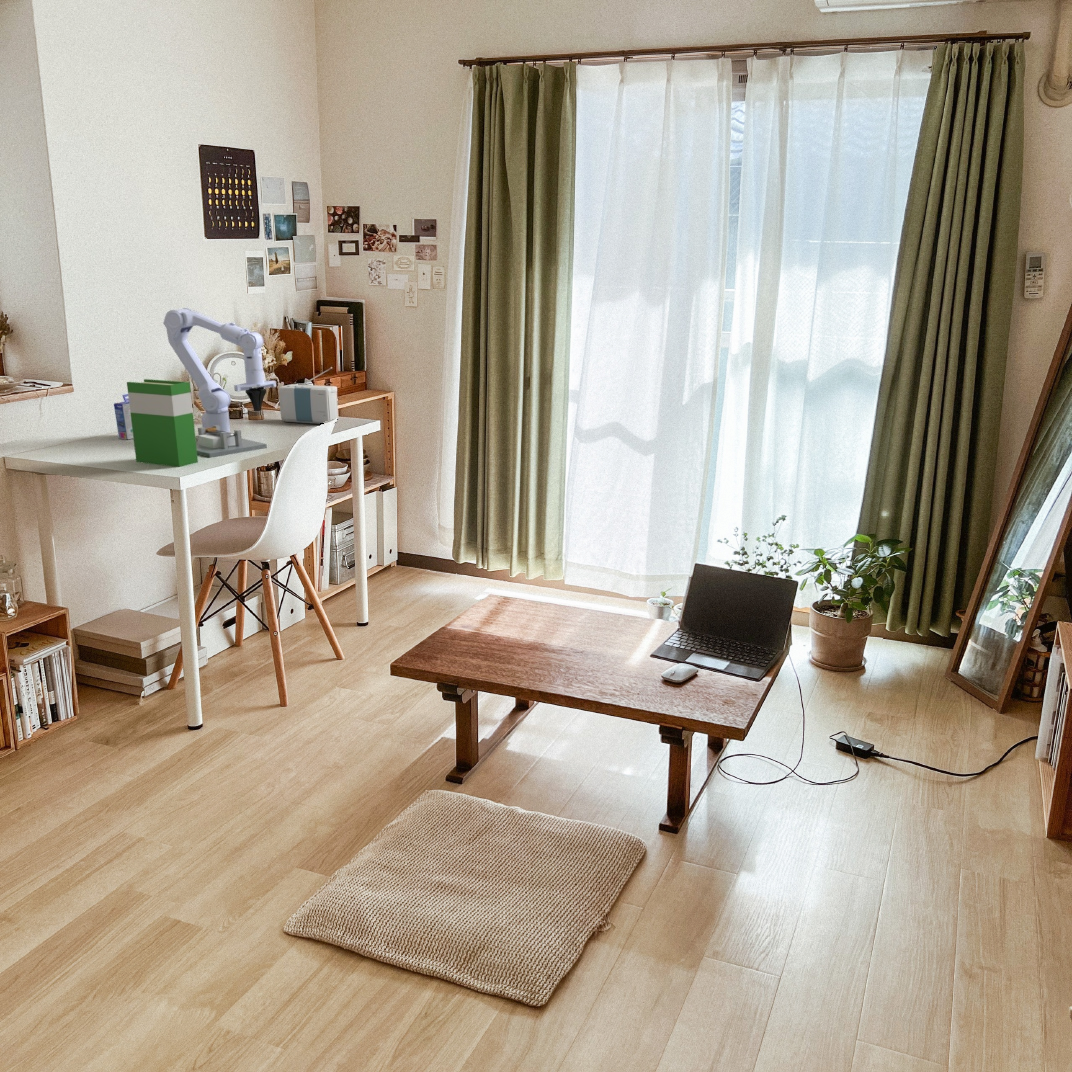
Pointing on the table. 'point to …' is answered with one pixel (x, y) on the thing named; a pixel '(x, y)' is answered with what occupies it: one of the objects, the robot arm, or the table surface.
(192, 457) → the hardback book
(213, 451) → the board
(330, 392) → the stereo radio cassette player
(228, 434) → the clamp bar
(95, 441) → the table surface
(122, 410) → the ink cartridge box
